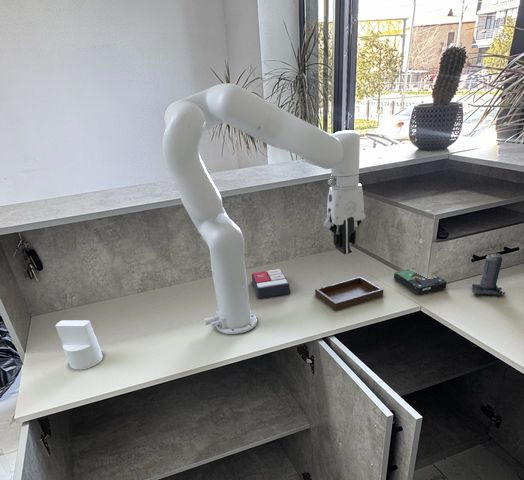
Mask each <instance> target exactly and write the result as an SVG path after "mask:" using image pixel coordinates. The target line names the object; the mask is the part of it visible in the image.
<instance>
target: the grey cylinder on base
mask: <svg viewBox="0 0 524 480" xmlns="http://www.w3.org/2000/svg"><path fill="white" fill-rule="evenodd" d="M502 264H503V256H502V254H500V253H497V252H491V253H488V254H487V256H486V257H485V261H484V265H483V269H482V273H481V278H480V282H479V284H477V283H472V284H471V289H472V293H473V295H474V296H476V297H477V296H483V295H486V296H489V297H492V296H496V297H501V296H502V295H503V296H504V295H506V291H504V292H503V291H502V290H503V288H502V287H498V285H497V282H498V279H499V274H500V271H501V266H502Z"/></svg>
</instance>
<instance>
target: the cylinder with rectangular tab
mask: <svg viewBox="0 0 524 480" xmlns="http://www.w3.org/2000/svg"><path fill="white" fill-rule="evenodd" d="M55 328H56V331H57V334H58V336H59V339H60V342H61V344H62V349H63V352H64V354H65V357H66V359H67V362H68V364H69V367H70V368H71V369H73V370H85V369H89V368H92V367H94V366H96V365H97V364H99V363H100V362H101V361H102V360H103V358H104V357H103V356H104V355H103V353H102V349H101V347H100V344H99V341H98V338H97V336H96V334H95V332H94V329H93V326H92V323H91V321H90V320H89V319H87V320H83V319H82V320H78V319H77V320H73V319H71V320H67V319H66V320H65V319H62V320H60V321H58V322H57V323H56V324H55Z"/></svg>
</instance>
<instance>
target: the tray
mask: <svg viewBox="0 0 524 480" xmlns="http://www.w3.org/2000/svg"><path fill="white" fill-rule="evenodd" d="M314 296H315V298H317V299H318V300H319V301H321V302H323V303H324V304H325V305H327V307H329V308H330V309H332V310H333V311H334V312H337V311H340V310H344V309H348V308H351V307H354V306H355V307H356V306H358V305H362V304H364V303H369V302H371V301H375V300H377V299H380V298H383V297H384V288H381V287H380V286H379V285H376V284H375V283H373V282H371V281H369V280H367V279H366V278H364V277H363V276H357V277H353V278H349V279H346V280H342V281H339V282H336V283H335V282H334V283H332V284H328V285H325V286H321V287H318V288H315V289H314Z"/></svg>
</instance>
